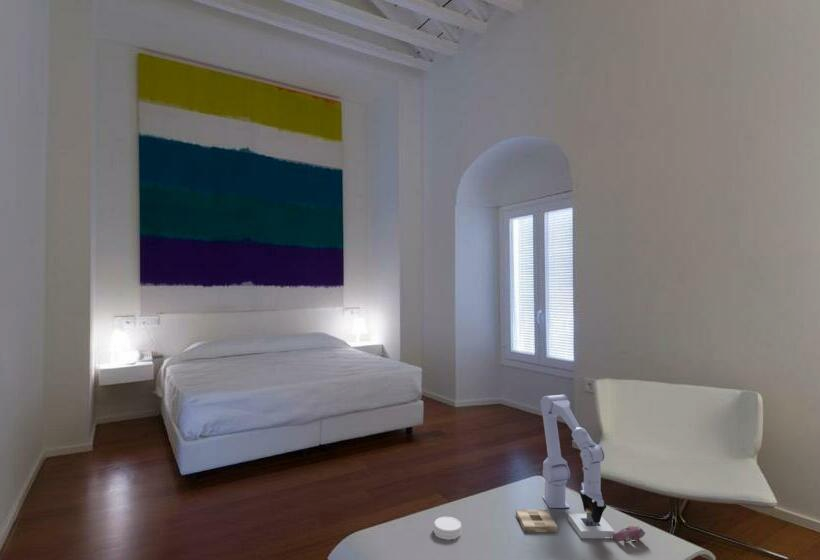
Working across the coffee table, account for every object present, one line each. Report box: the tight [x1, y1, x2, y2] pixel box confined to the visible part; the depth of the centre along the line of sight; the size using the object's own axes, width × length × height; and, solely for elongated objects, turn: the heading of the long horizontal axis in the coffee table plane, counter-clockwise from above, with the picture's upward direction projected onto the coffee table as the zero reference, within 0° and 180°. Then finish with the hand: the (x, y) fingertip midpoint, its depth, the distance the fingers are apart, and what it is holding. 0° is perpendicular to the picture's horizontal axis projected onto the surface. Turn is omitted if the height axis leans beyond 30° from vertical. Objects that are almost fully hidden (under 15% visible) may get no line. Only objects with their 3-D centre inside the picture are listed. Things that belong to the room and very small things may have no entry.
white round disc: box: [433, 516, 462, 541], centre depth 158 cm, size 10×10×4 cm
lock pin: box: [586, 507, 596, 526], centre depth 161 cm, size 4×4×7 cm
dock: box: [567, 513, 616, 539], centre depth 161 cm, size 12×12×2 cm
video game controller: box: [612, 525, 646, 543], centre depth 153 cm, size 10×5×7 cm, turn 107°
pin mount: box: [515, 509, 559, 533], centre depth 164 cm, size 12×12×2 cm
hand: (591, 516), depth 161 cm, fingers open, 7 cm apart
